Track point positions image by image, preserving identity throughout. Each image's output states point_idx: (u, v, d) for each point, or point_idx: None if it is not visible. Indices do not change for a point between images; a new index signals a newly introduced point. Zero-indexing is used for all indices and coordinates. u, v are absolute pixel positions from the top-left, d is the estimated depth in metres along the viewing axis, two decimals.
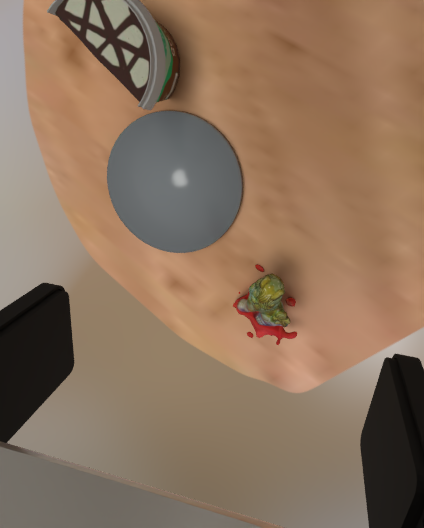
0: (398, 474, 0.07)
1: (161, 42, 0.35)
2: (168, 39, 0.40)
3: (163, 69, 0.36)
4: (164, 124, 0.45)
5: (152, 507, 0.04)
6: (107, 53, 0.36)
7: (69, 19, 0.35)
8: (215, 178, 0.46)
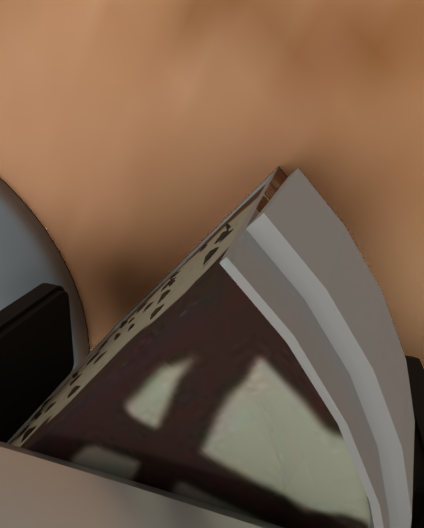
0: None
1: None
2: None
3: None
4: None
5: (152, 507, 0.04)
6: None
7: (194, 365, 0.04)
8: None
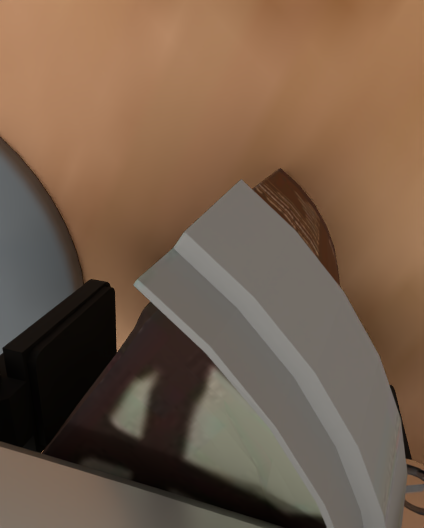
0: None
1: None
2: None
3: None
4: (36, 275, 0.17)
5: (152, 507, 0.04)
6: None
7: (160, 377, 0.05)
8: None
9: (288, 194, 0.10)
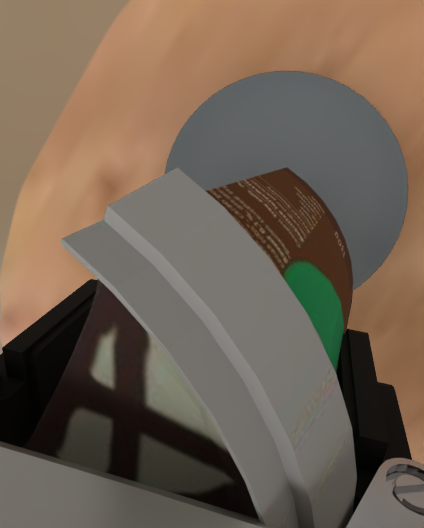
0: None
1: None
2: None
3: None
4: (384, 201, 0.26)
5: (152, 507, 0.04)
6: None
7: (118, 332, 0.06)
8: None
9: (283, 189, 0.11)
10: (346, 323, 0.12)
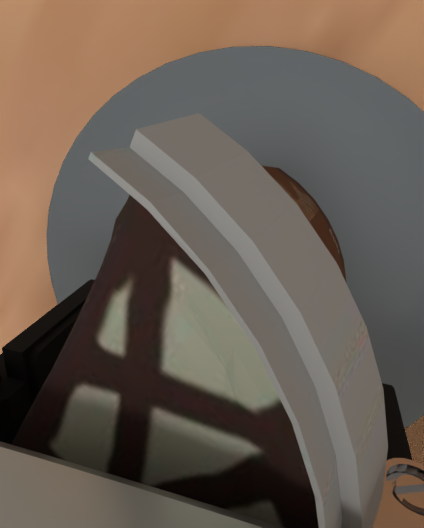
0: None
1: None
2: None
3: None
4: None
5: (152, 507, 0.04)
6: None
7: (134, 284, 0.05)
8: None
9: (280, 180, 0.11)
10: None
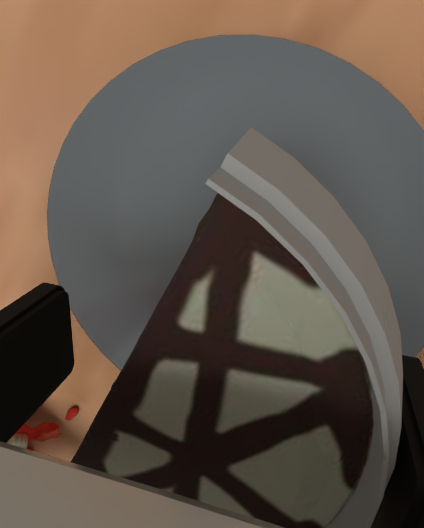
0: (399, 473, 0.07)
1: None
2: None
3: None
4: (413, 268, 0.15)
5: (152, 507, 0.04)
6: (132, 450, 0.08)
7: (215, 274, 0.06)
8: None
9: None
10: None
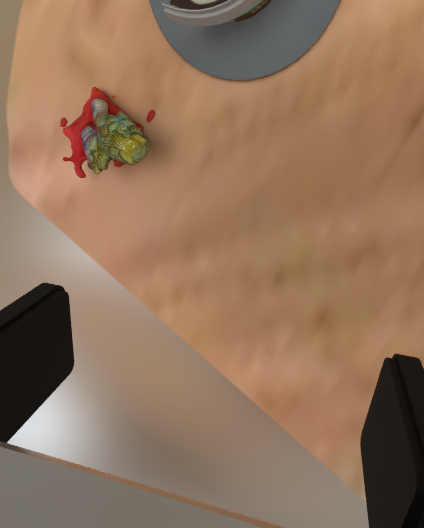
0: (398, 473, 0.07)
1: (250, 6, 0.26)
2: None
3: (220, 21, 0.27)
4: None
5: (152, 507, 0.04)
6: None
7: None
8: (258, 39, 0.34)
9: None
10: None
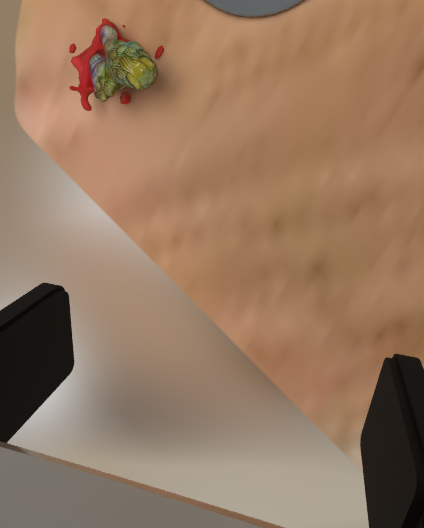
0: (399, 474, 0.07)
1: None
2: None
3: None
4: None
5: (152, 507, 0.04)
6: None
7: None
8: None
9: None
10: None
